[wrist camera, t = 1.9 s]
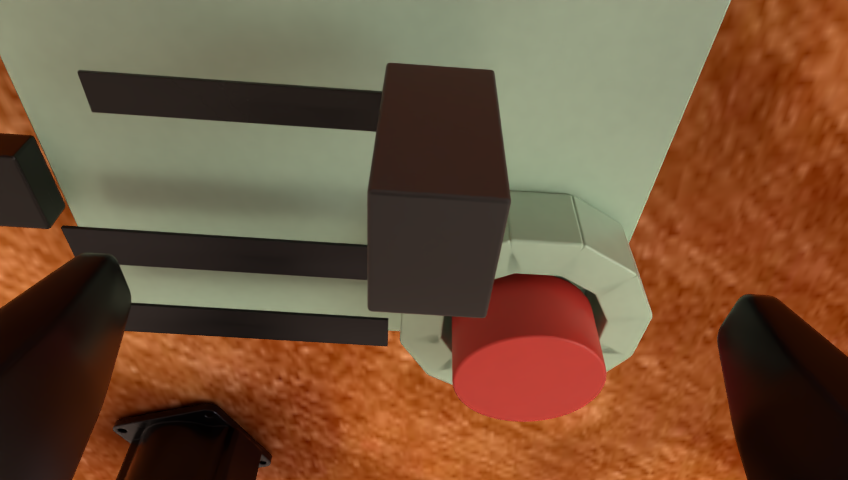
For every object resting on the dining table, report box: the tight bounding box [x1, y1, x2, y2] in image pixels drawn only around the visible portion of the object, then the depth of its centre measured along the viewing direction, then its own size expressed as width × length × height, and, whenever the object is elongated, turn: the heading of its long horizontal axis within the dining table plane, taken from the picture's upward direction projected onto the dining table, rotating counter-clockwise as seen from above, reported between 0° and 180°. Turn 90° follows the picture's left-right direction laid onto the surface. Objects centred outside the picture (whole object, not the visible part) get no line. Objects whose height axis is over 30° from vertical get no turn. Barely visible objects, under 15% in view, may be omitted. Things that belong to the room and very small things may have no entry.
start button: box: [452, 273, 606, 422], centre depth 16 cm, size 4×4×2 cm
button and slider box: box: [0, 0, 731, 385], centre depth 17 cm, size 16×12×6 cm
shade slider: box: [367, 63, 511, 318], centre depth 10 cm, size 2×3×4 cm
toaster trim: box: [0, 70, 389, 346], centre depth 15 cm, size 13×8×2 cm, turn 86°
